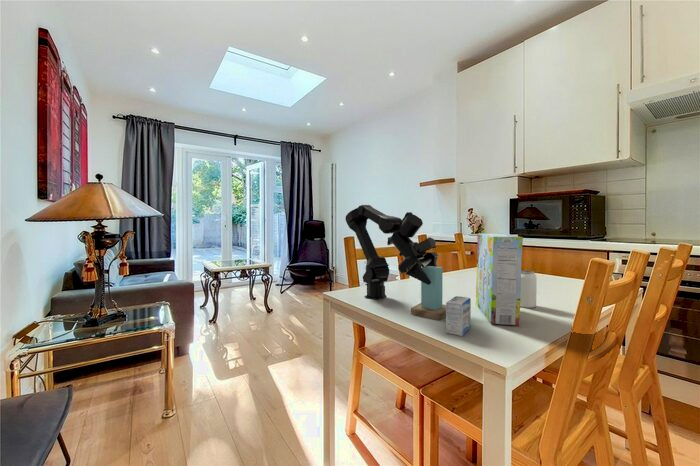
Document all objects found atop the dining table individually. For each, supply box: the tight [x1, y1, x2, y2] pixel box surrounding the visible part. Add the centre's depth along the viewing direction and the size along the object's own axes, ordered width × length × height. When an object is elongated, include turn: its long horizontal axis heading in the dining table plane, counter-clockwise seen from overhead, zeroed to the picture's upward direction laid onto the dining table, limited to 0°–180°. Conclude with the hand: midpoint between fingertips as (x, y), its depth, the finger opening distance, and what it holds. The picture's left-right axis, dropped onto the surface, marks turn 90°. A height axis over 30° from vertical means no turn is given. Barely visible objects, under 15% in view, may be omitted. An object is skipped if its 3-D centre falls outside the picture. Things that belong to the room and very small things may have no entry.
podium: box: [410, 302, 446, 321], centre depth 98 cm, size 10×10×2 cm
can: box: [520, 269, 538, 309], centre depth 104 cm, size 6×6×12 cm
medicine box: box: [445, 295, 472, 337], centre depth 82 cm, size 8×4×9 cm, turn 143°
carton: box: [420, 266, 443, 310], centre depth 97 cm, size 5×5×13 cm
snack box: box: [475, 233, 524, 327], centre depth 95 cm, size 22×9×26 cm, turn 168°
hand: (435, 281), depth 96 cm, fingers open, 8 cm apart
